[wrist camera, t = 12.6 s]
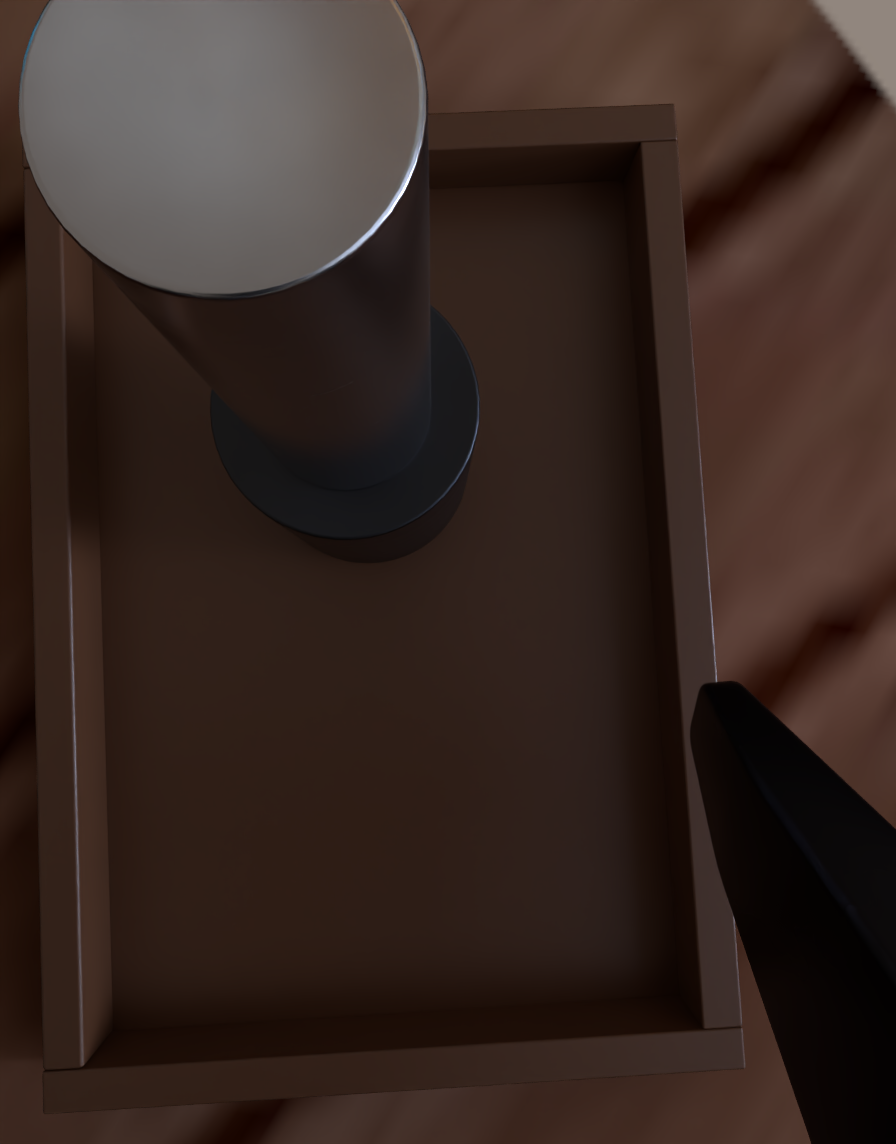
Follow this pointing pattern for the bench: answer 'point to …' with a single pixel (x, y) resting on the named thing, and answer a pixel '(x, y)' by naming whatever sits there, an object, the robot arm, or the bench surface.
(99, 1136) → the bench surface
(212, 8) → the dark cylinder
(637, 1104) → the bench surface
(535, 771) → the tray
